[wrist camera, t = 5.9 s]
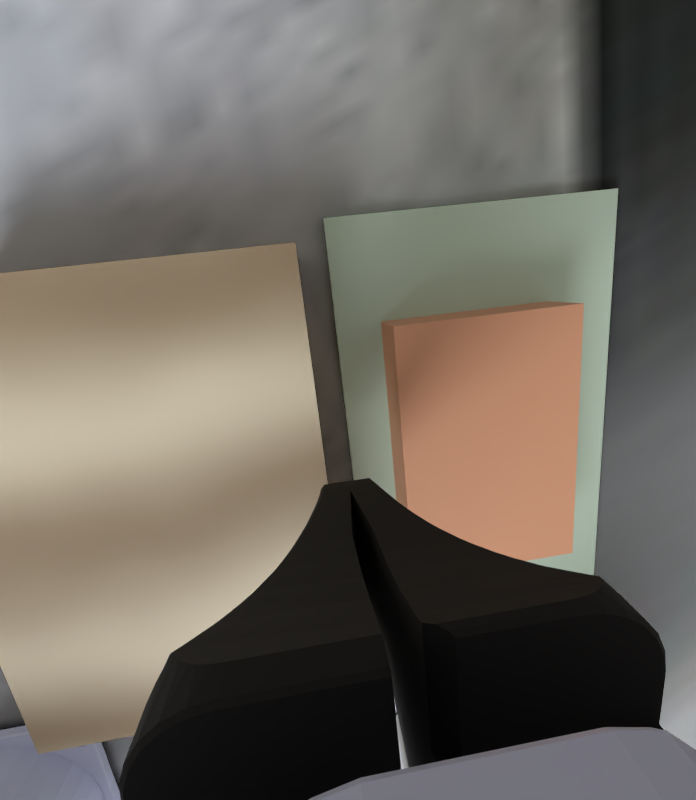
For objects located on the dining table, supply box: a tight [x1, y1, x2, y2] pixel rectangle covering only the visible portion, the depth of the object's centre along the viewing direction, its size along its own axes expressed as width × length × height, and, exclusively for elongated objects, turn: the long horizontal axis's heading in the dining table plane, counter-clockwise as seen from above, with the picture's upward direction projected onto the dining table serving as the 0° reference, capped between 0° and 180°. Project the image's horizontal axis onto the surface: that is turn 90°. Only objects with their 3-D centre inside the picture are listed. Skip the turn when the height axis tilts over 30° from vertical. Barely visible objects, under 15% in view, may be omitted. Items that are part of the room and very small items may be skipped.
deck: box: [0, 242, 328, 754], centre depth 13 cm, size 14×10×4 cm
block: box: [381, 301, 584, 561], centre depth 15 cm, size 9×6×2 cm, turn 6°
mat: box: [323, 188, 618, 575], centre depth 16 cm, size 16×10×1 cm, turn 6°
